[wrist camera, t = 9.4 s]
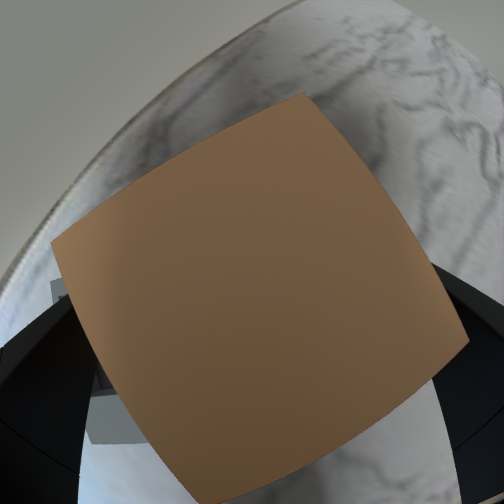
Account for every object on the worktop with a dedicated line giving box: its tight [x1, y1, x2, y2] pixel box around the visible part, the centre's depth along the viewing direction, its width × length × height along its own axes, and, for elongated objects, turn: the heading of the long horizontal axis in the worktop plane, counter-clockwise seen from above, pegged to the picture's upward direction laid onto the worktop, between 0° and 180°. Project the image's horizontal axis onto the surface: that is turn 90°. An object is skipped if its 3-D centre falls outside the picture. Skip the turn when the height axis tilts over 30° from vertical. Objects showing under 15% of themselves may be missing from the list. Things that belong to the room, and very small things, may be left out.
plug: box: [51, 93, 469, 504], centre depth 10 cm, size 5×5×13 cm
